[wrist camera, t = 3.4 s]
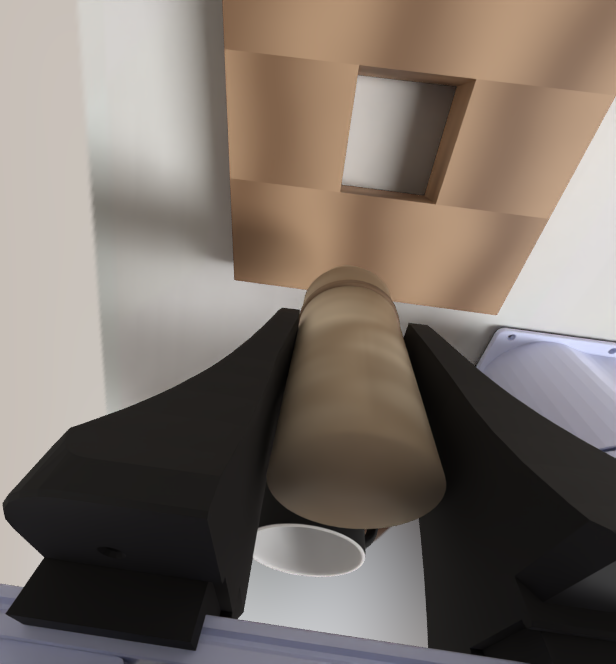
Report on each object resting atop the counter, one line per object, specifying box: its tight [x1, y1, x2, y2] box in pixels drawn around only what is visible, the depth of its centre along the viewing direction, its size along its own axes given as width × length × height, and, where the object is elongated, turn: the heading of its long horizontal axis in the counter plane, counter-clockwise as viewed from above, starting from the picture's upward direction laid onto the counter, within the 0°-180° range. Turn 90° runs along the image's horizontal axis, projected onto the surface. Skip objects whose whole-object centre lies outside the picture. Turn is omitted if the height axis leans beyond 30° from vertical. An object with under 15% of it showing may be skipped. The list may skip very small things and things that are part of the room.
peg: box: [266, 265, 446, 529], centre depth 10 cm, size 4×4×8 cm
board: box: [222, 0, 616, 315], centre depth 14 cm, size 16×16×2 cm
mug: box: [253, 482, 378, 577], centre depth 26 cm, size 12×9×10 cm
